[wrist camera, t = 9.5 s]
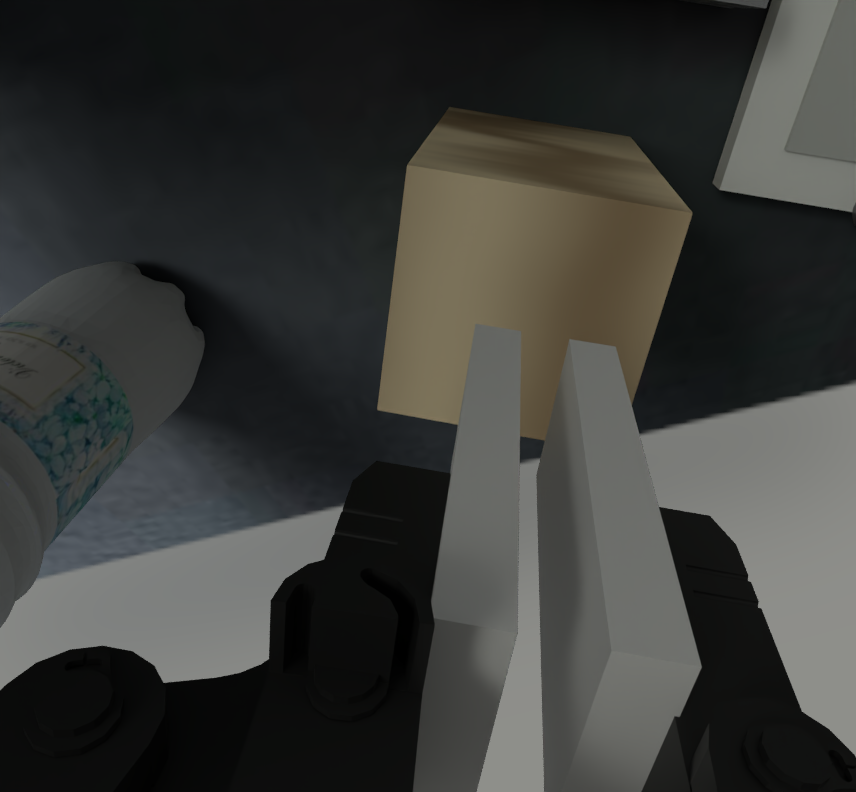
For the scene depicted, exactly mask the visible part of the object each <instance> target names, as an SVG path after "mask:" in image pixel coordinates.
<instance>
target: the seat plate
mask: <svg viewBox="0 0 856 792" xmlns="http://www.w3.org/2000/svg"><path fill="white" fill-rule="evenodd" d="M712 183H713V184H714V185H715V186H716V187H717V188H718V189H719V190H723V191H729V192H735V193H741V194H747V195H753V196H759V197H765V198H771V199H777V200H783V201H789V202H795V203H801V204H807V205H813V206H819V207H825V208H831V209H837V210H843V211H849V212H852V220H853V223H854V225H855V227H856V0H772V1H771V4H770V7H769V11H768V14H767V17H766V20H765V23H764V26H763V29H762V32H761V35H760V38H759V41H758V44H757V47H756V50H755V54H754V57H753V60H752V63H751V66H750V69H749V72H748V75H747V78H746V81H745V84H744V87H743V90H742V93H741V96H740V100H739V103H738V106H737V109H736V112H735V115H734V118H733V121H732V124H731V127H730V130H729V133H728V136H727V139H726V143H725V146H724V149H723V152H722V155H721V158H720V161H719V164H718V167H717V170H716V173H715V176H714V179H713V182H712Z"/></svg>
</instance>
